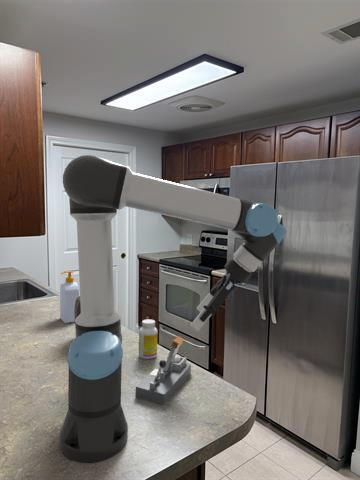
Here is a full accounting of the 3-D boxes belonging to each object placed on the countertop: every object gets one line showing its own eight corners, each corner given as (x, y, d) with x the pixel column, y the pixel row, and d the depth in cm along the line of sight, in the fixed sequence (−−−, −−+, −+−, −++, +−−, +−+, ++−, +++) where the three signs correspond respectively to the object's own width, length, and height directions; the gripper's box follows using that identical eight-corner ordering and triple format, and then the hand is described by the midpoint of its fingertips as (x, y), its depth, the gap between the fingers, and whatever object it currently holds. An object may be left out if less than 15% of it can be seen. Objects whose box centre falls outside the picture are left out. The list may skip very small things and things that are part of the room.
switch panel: (190, 373, 112) (191, 358, 111) (164, 404, 93) (164, 387, 93) (165, 367, 115) (166, 353, 115) (135, 396, 97) (136, 379, 96)
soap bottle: (58, 318, 161) (58, 270, 159) (73, 316, 165) (73, 269, 163) (63, 324, 154) (63, 273, 152) (78, 321, 157) (79, 272, 155)
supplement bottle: (160, 356, 124) (161, 321, 123) (147, 361, 119) (148, 325, 118) (148, 350, 128) (149, 317, 127) (134, 355, 124) (135, 320, 123)
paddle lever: (169, 372, 105) (183, 339, 103) (164, 378, 102) (178, 343, 99) (165, 369, 106) (178, 336, 103) (159, 374, 102) (173, 340, 100)
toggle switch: (158, 384, 98) (168, 361, 96) (155, 387, 96) (165, 364, 94) (153, 380, 99) (162, 357, 97) (149, 383, 97) (159, 360, 95)
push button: (182, 361, 111) (182, 355, 111) (177, 365, 108) (177, 359, 108) (171, 359, 113) (172, 353, 112) (167, 363, 109) (167, 357, 109)
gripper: (255, 284, 85) (202, 345, 89) (251, 263, 109) (210, 312, 114) (231, 265, 85) (180, 327, 90) (232, 249, 110) (192, 298, 114)
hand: (197, 318), depth 102 cm, fingers open, 13 cm apart
